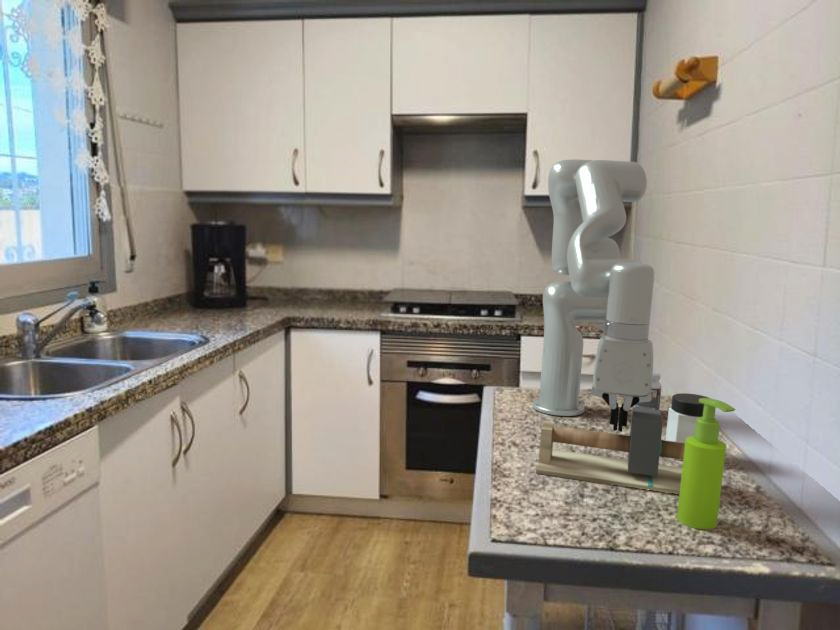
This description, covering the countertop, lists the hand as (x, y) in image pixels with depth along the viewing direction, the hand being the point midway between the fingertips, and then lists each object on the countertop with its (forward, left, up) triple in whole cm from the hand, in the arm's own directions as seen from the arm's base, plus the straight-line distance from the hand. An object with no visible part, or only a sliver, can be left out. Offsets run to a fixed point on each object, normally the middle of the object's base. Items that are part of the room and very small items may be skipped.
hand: (617, 428), depth 123 cm
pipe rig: (0, +1, -9) cm, 9 cm away
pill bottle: (-45, +7, -9) cm, 46 cm away
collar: (0, +5, -7) cm, 8 cm away
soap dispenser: (+16, +13, -9) cm, 23 cm away
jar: (-16, +14, -9) cm, 23 cm away
